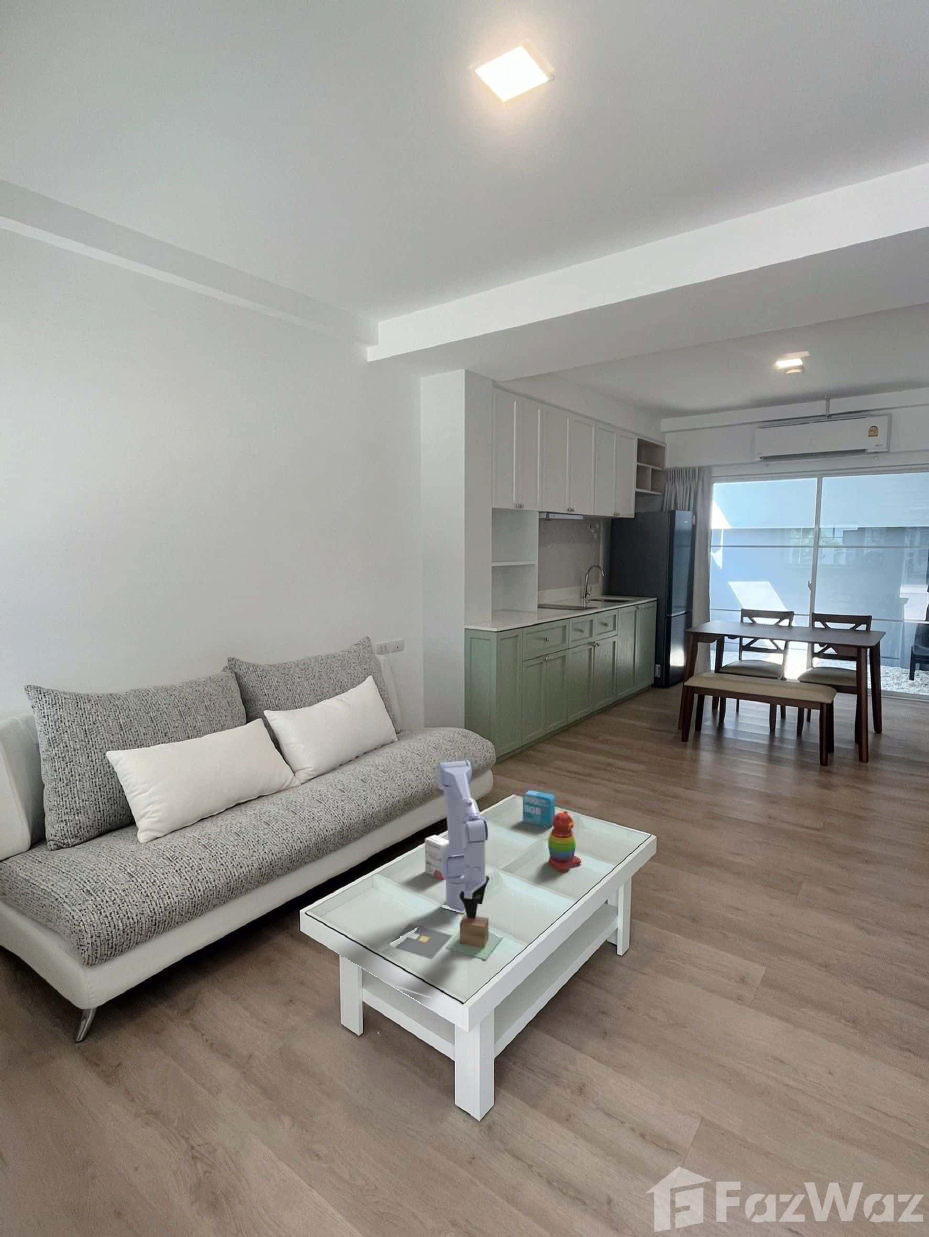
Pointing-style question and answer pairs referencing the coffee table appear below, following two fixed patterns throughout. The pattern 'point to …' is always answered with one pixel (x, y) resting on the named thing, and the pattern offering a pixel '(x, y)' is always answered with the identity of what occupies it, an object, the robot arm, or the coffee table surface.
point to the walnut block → (474, 931)
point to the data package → (538, 808)
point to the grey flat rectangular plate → (422, 941)
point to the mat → (475, 947)
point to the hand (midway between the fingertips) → (474, 910)
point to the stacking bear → (562, 843)
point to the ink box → (434, 854)
